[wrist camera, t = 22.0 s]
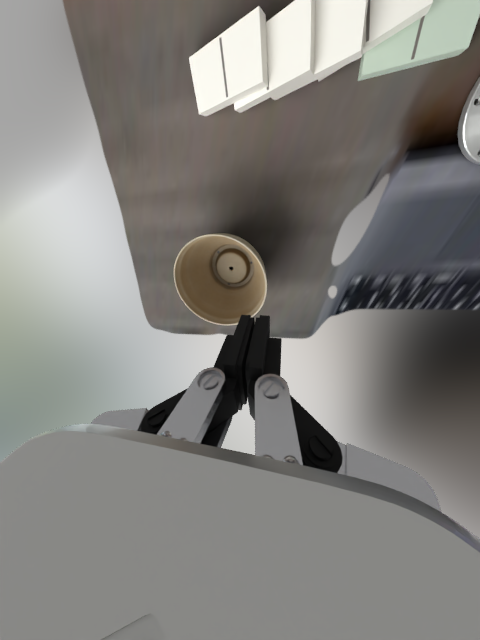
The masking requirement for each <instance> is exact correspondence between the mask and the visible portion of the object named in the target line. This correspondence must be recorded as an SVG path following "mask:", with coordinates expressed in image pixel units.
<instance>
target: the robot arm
mask: <svg viewBox="0 0 480 640" xmlns="http://www.w3.org/2000/svg"><path fill="white" fill-rule="evenodd" d="M474 101H475V104H474ZM458 142H459V146H460V149H461V152H462V153H463V155H464V156H465V157H466V158H467V159H468V160H469V161H471V162H473V163H475V164H479V165H480V77H479V78H478V80H477V82H476V83H475V85H474V87H473V89H472V90H471V92H470V94H469V96H468V98H467V101H466V103H465V105H464V107H463V110H462V114H461V117H460V121H459V127H458ZM478 152H479V153H478ZM269 335H270V316H262V315H260V318H256V322H255V324H254V318H252V317H251V315H241V317H240V320H239V322H238V325H237V328H236V330H235V333H234V335H227V336H226V339H225V341H224V343H223V346H222V348H221V351H220V353H219V355H218V358H217V360H216V363H215V365H214V367H213V368H207V369H204V370H203V371H201V372H199V374H198V375H197V376H196V378H195V379H194V380H193V382H192V384H191V385H190V386H189V388H188V389H186V390H184V391H182V392H181V393H178V394H177V395H175V396H173V397H171V398H169V399H167V400H166V401H164V402H162V403H160V404H158V405H156V406H155V407H153V408H152V409H150V410H147V408H142V409H130V410H118V411H109V412H105V413H103V414H101V415H99V416H98V417H96V418H95V419H94V420H93V421H92V422H91V424H75V425H69V426H64V427H61V428H56V429H53V430H50V431H47V432H44V433H42V434H39V435H37V436H35V437H33V438H31V439H30V440H28V441H27V442H25V443H23V444H22V445H21V446H19V447H18V448H17V449H15V450H14V451H13V452H12V453H11V454H9V455H8V456H7V457H6V458H5V459H3V460H2V461H1V462H0V640H480V539H479V538H478V537H477V536H475V535H474V534H473V533H471V532H470V531H468V530H467V529H466V528H464V527H463V526H462V525H460V524H459V523H457V522H456V521H454V520H453V519H451V518H449V517H448V516H446V515H445V514H443V513H442V512H441V509H440V505H439V502H438V499H437V497H436V495H435V492H434V490H433V489H432V488H431V486H430V485H429V484H428V482H427V481H426V480H425V479H424V478H423V477H421V476H420V475H419V474H418V473H417V472H415V471H414V470H412V469H410V468H408V467H406V466H403V465H401V464H398V463H396V462H393V461H391V460H388V459H386V458H383V457H381V456H378V455H376V454H373V453H371V452H368V451H366V450H363V449H361V448H358V447H356V446H353V445H351V444H348V443H347V444H346V445H345V444H342V443H340V442H337V441H336V440H335V439H334V438H333V436H332V435H331V434H329V433H328V431H326V430H325V429H324V428H323V427H322V426H321V425H320V424H319V423H318V422H317V421H316V420H315V419H314V418H313V417H312V416H311V415H310V414H309V413H308V412H307V411H306V410H305V409H304V408H303V407H301V405H300V404H299V403H298V402H296V400H295V399H294V398H293V397H291V395H290V393H289V388H288V385H287V382H286V381H285V380H284V379H283V378H282V377H280V364H281V338H269ZM247 398H248V402H249V407H250V415H251V416H252V417H253V419H254V420H255V455H252V454H247V453H242V452H237V451H232V450H227V449H223V448H221V446H222V443H223V441H224V438H225V435H226V433H227V431H228V428H229V426H230V423H231V421H232V416H233V415H234V414H235V413H237V412H238V410H241V409H242V405H243V404H246V403H247Z"/></svg>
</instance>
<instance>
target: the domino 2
mask: <svg viewBox="0 0 480 640" xmlns="http://www.w3.org/2000/svg"><path fill="white" fill-rule="evenodd" d="M314 38H315V0H295V1H293V2H292V3H291V4H289V5H288V6H287V7H285V8H284V9H283V10H281V11H280V12H279V13H277V14H276V15H275V16H274V17H272V18H271V19H270V20H268V21H267V22H266V39H267V66H268V87H266V88H264V89H262V90H260V91H258V92H255V93H253V94H251V95H249V96H247V97H245V98H243V99H241V100H239V101H237V102H235V103H234V108H235V111H237V112H240V113H241V112H243V111H245V110H247V109H249V108H251V107H253V106H255V105H257V104H259V103H261V102H262V101H264V100H266V99H268V98H270V97H272V96H274V95H276V94H278V93H280V92H282V91H284V90H285V89H287V88H289V87H291V86H293V85H295V84H297V83H299V82H301V81H303V80H305V79H307V78H309V77H310V76H312V75H314Z"/></svg>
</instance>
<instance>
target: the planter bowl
mask: <svg viewBox="0 0 480 640" xmlns="http://www.w3.org/2000/svg"><path fill="white" fill-rule="evenodd" d="M230 267H233V270H230ZM174 281H175V285H176V289H177V291H178V294H179V296H180V297H181V299H182V301H183V302H184V303H185V305H186V306H187V307H188V308H189V309H190V310H191V311H192V312H193V313H195V314H196V315H197V316H199V317H200V318H202V319H204V320H206V321H208V322H211V323H214V324H219V325H236V324H238V322H239V320H240V317H241V315H251V317H253V316H254V315H256V314H257V313H258V311H259V310H260V309H261V307H262V306H263V304H264V301H265V298H266V294H267V276H266V271H265V267H264V264H263V261H262V259H261V257H260V255H259V254H258V252H257V251H256V250H255V248H254V247H253V246H252V245H251V244H249V243H248V242H247V241H245V240H244V239H242V238H240V237H238V236H235V235H231V234H226V233H216V234H206V235H202V236H199V237H197V238H195V239H193V240H191V241H190V242H188V243H187V244H186V245H185V246H184V247H183V248H182V249H181V251H180V252H179V254H178V256H177V258H176V261H175V266H174Z"/></svg>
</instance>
